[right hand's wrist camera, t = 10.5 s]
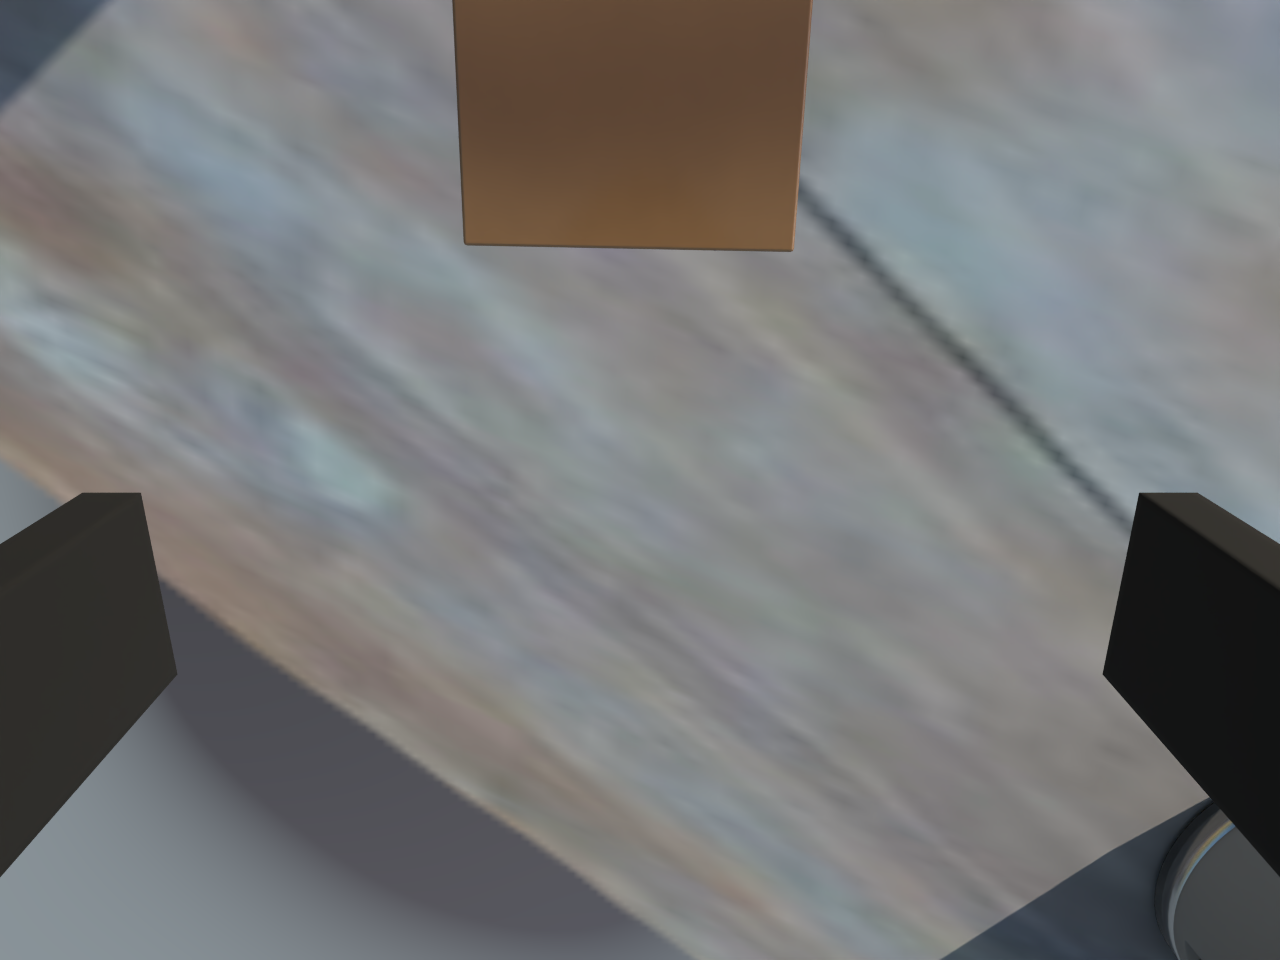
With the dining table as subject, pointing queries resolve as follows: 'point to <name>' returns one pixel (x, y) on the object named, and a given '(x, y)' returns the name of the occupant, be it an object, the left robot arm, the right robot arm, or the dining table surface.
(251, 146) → the dining table surface
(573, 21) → the box
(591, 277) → the dining table surface
